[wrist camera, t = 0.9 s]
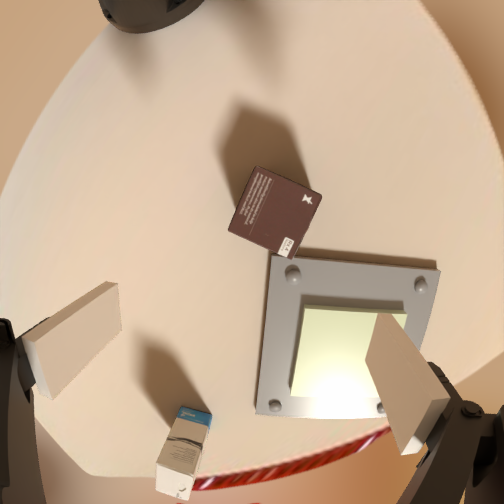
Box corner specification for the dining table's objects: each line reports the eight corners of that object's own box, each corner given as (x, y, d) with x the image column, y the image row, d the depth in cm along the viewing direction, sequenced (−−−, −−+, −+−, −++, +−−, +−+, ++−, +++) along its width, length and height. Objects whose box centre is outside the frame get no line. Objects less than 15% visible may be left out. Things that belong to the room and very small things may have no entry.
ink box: (181, 404, 38) (154, 462, 26) (213, 414, 38) (194, 475, 26) (176, 438, 40) (154, 491, 28) (205, 446, 40) (188, 502, 28)
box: (261, 168, 30) (255, 162, 23) (314, 193, 30) (324, 195, 23) (237, 221, 32) (225, 231, 24) (289, 245, 32) (292, 262, 24)
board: (272, 253, 32) (271, 258, 30) (437, 268, 30) (445, 274, 28) (255, 409, 37) (254, 420, 35) (391, 412, 35) (395, 421, 33)
